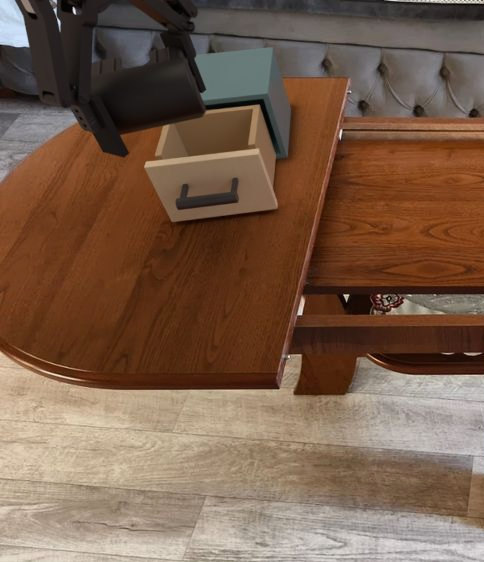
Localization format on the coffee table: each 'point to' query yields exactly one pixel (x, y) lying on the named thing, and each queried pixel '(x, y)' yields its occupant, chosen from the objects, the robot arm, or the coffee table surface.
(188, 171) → the drawer
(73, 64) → the robot arm
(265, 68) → the cabinet
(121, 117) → the end cap
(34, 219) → the coffee table surface
